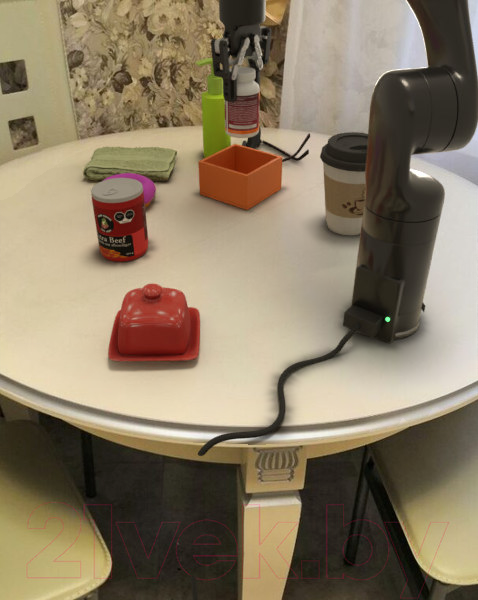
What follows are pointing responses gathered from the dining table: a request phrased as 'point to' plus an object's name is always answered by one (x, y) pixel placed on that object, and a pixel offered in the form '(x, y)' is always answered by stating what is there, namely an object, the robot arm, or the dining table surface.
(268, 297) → the dining table surface
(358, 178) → the coffee cup
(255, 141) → the sunglasses
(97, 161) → the washcloth
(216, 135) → the soap dispenser
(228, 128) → the pill bottle
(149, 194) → the donut
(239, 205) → the bin
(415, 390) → the dining table surface
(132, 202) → the canned food
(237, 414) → the dining table surface
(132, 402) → the dining table surface
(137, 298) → the butter dish
